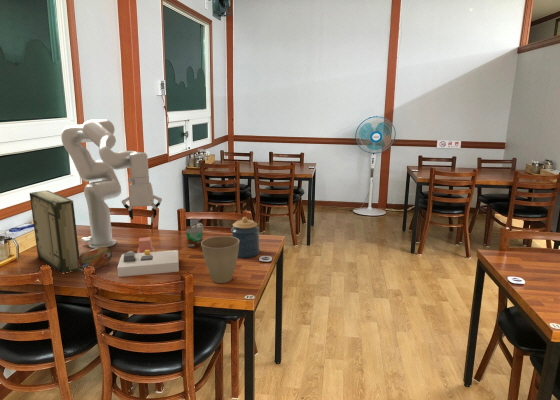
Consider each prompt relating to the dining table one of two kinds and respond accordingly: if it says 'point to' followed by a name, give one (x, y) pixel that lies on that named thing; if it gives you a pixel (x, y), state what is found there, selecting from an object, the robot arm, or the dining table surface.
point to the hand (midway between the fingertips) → (143, 217)
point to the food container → (194, 235)
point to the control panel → (55, 230)
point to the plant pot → (220, 257)
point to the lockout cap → (145, 245)
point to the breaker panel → (149, 263)
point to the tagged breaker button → (146, 257)
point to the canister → (246, 237)
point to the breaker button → (129, 257)
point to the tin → (95, 258)
